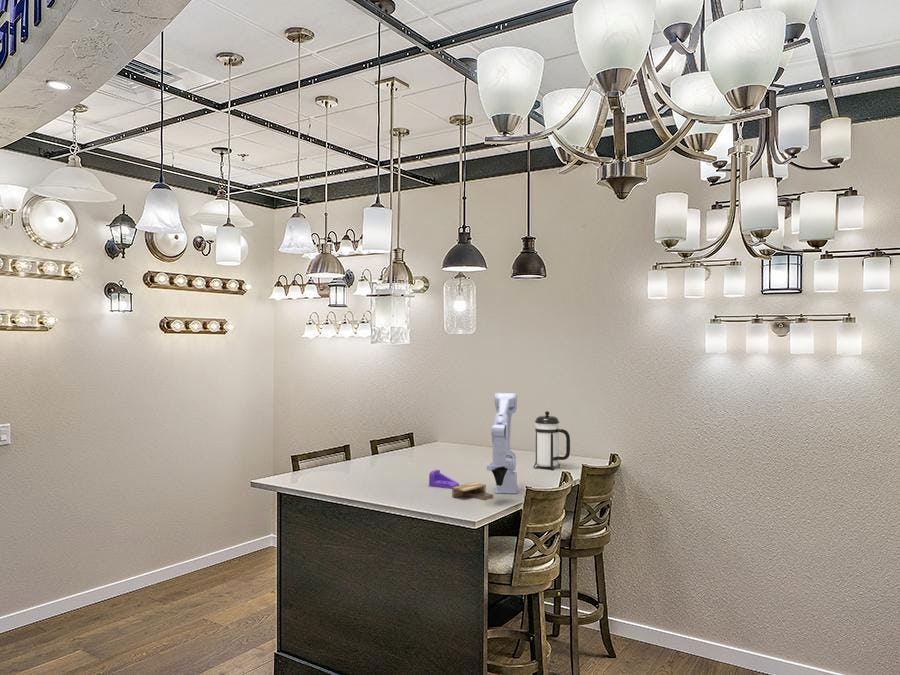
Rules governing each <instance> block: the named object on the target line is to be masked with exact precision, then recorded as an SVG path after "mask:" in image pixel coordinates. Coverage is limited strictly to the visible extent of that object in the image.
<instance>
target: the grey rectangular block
mask: <svg viewBox="0 0 900 675" xmlns="http://www.w3.org/2000/svg"><path fill="white" fill-rule="evenodd" d="M462 496H464V497H469V498H473V499H477V500H481V501H486V500H489V499H490V500H491V499H494V494H493V493H489V492H486V493H485V492H481V491H476V490H469V491H465V492H463V495H462Z"/></svg>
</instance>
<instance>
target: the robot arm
mask: <svg viewBox="0 0 900 675" xmlns="http://www.w3.org/2000/svg"><path fill="white" fill-rule="evenodd" d="M494 406H495V410H496V412H497V413H496V414H495V416H494V421H493V424H492V425H491V431H490V434H491V443H492V461H491V462H490V464H488V465H486V471H489V472H491V473H492V475H493V477H494V479H495V488H494V490H495V491H494V493H495V494H518V472H516V467H517V465H516V464H517V460H516V458H517V457H516V454H515V452H513V450H511V449H510V448H511V430H512V429H511V428H512V416H513V414H515V413H516V412H517V409H518V394H517V393H516V392H513V393H512V392H508V393H507V392H495V394H494Z"/></svg>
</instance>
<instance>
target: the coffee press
mask: <svg viewBox="0 0 900 675" xmlns="http://www.w3.org/2000/svg"><path fill="white" fill-rule="evenodd" d="M544 414H545V415H540V416H537V417H536V419H535V421H534V423H533V426H535V428H534V431H535V463H534V465H533V468H534V469H538V468H539V467H543V468H544V467H545V468H549V469H550V471H554V470H555V467H557V468H560V467H561V464H560V463H559V461H566V459H567V460H568V458H569V457H570V454H571V438H570V433H569V432H568V431H567V430H566V429H562V428H561V429H560V428H559V424H560V421H559V419H558V417H556V416H554V415H550V412H549V411H545V412H544ZM559 433H562V434H564V435H565V438H566V440H565V442H566V443H565V444H566V446H565V452H566V453H565V455H563V456H559V436H560V434H559Z"/></svg>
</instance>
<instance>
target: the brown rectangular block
mask: <svg viewBox="0 0 900 675" xmlns="http://www.w3.org/2000/svg"><path fill="white" fill-rule="evenodd" d="M469 490H476V491H481V492H485V493H487V491H486V490H487V485H486V484H484V483H481V482H475V481H474V482H470V483H464V484H459V486H455V487H452V489H451V493H452V495H451V497H452V498H458V497H462V496H464V495H463V492H465V491H469Z"/></svg>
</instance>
